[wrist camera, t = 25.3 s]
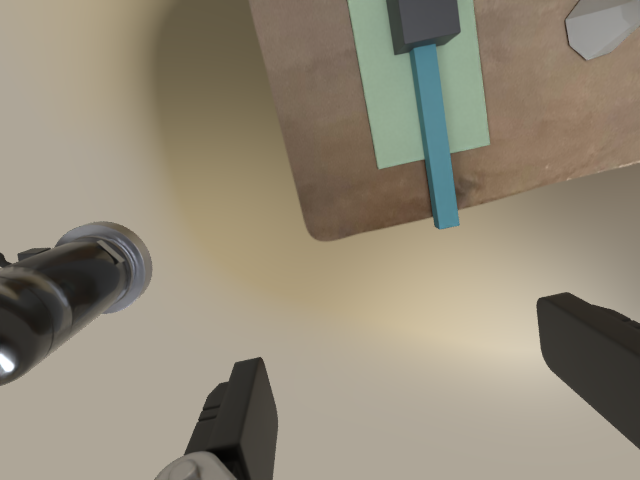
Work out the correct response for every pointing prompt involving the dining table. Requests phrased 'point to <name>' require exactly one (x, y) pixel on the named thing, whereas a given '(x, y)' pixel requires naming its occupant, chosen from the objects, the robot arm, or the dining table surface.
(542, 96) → the dining table surface
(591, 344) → the robot arm
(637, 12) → the flask
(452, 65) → the mat
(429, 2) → the hammer
